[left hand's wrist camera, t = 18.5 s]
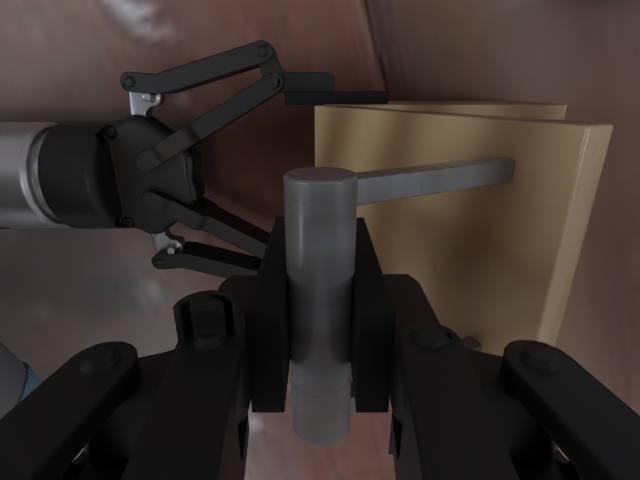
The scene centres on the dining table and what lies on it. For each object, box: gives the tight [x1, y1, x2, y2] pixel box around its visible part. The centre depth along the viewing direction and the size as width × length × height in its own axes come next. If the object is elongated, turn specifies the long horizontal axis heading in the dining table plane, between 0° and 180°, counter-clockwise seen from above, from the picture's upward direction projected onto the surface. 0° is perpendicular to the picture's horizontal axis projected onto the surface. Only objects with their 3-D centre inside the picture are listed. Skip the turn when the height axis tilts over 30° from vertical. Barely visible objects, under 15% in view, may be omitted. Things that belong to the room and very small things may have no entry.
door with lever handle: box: [283, 105, 613, 446], centre depth 17 cm, size 16×10×9 cm
